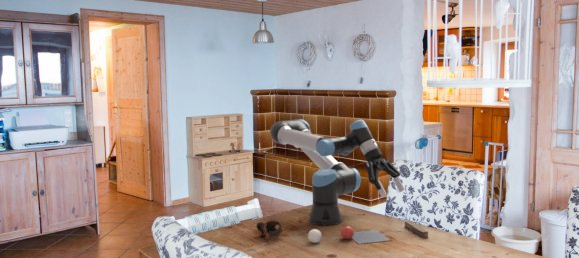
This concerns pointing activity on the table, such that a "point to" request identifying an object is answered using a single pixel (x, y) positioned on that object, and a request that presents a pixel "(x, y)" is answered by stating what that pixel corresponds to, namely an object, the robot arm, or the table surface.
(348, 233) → the red ball
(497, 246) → the table surface
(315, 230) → the cue ball
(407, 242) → the table surface
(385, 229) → the table surface
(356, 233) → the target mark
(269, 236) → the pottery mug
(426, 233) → the strip
